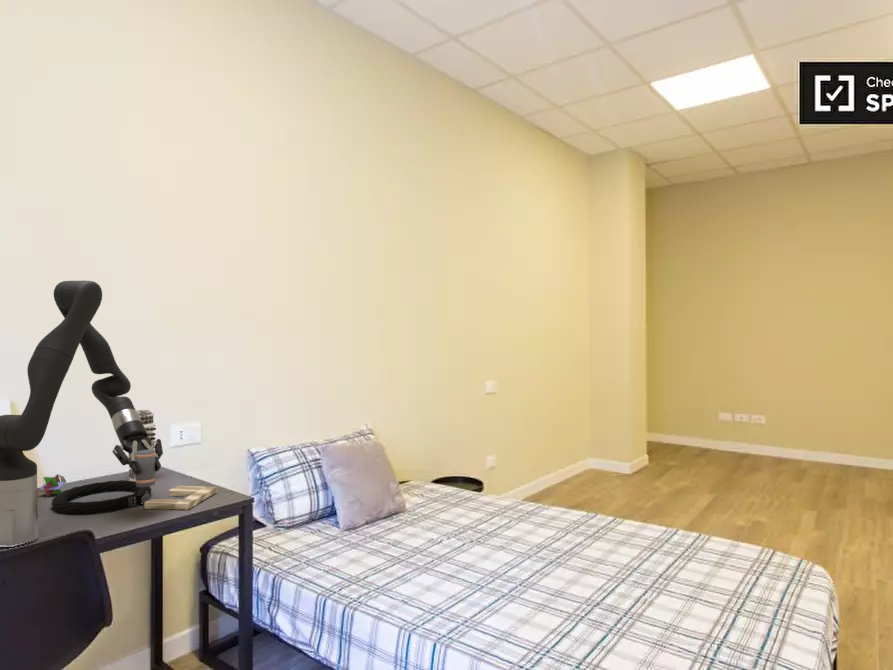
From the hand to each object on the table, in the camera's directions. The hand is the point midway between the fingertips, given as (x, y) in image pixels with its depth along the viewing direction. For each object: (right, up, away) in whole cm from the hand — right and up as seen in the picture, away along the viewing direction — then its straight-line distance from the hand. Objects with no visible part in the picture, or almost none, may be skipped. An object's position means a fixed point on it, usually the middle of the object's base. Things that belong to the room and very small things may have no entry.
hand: (148, 471), depth 168 cm
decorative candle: (-24, -13, +41) cm, 49 cm away
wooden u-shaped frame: (+3, -13, +15) cm, 20 cm away
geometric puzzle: (-43, -13, +21) cm, 49 cm away
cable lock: (-21, -14, +14) cm, 29 cm away
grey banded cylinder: (-2, -4, +1) cm, 5 cm away
